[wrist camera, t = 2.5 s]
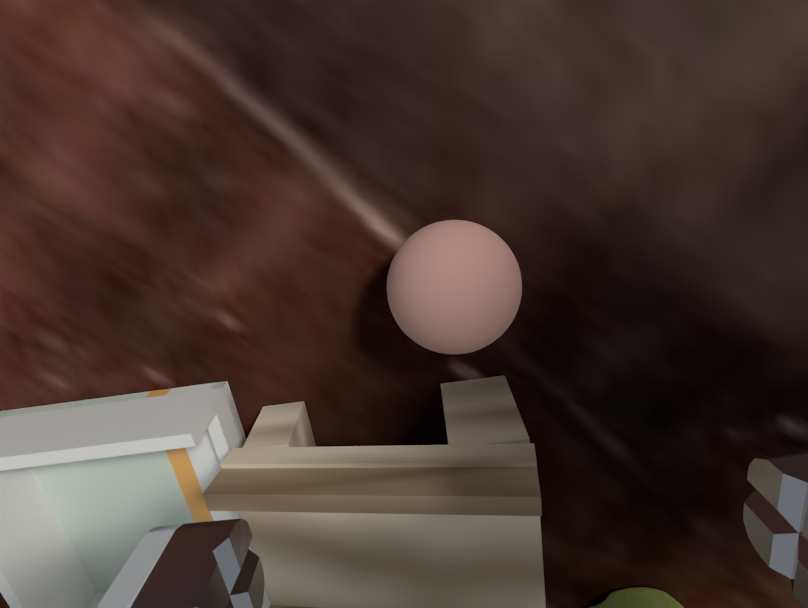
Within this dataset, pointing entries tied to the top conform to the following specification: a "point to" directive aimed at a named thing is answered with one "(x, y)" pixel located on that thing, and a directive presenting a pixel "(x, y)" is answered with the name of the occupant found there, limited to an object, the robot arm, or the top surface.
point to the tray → (104, 485)
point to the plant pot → (639, 599)
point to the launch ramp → (393, 510)
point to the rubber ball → (454, 287)
